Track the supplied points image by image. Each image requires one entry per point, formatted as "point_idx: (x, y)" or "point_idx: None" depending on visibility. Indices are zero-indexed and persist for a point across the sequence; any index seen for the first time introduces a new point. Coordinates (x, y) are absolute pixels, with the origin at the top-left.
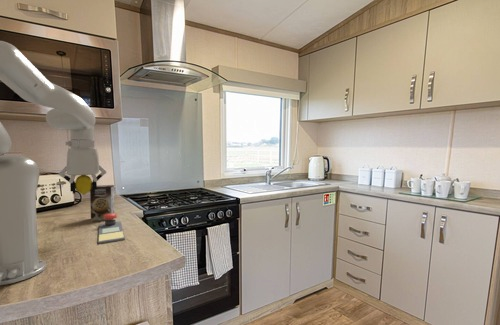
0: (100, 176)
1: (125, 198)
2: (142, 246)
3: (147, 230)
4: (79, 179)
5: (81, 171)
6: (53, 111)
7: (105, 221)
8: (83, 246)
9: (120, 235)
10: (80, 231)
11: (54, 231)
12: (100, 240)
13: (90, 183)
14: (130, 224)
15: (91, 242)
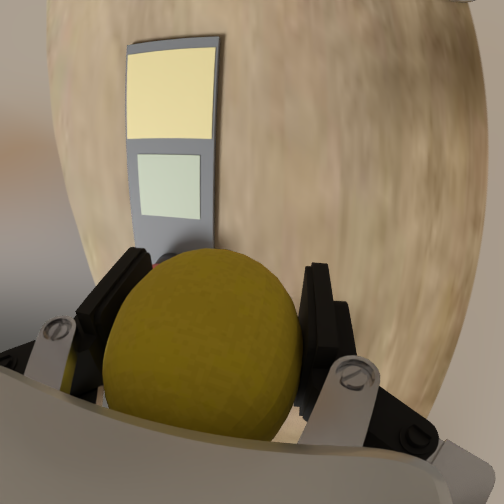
0: (3, 355)
1: None
2: None
3: (59, 129)
4: (235, 375)
5: (139, 495)
6: None
7: None
8: (273, 41)
9: (136, 83)
10: (280, 260)
11: (358, 312)
12: (209, 54)
13: (121, 308)
14: (110, 243)
15: (243, 74)
